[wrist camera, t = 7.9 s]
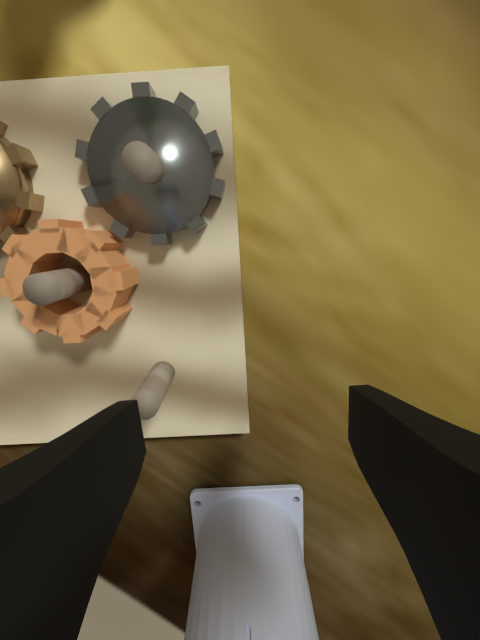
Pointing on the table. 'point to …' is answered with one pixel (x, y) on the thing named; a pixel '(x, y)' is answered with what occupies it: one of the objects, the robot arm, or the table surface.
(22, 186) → the gear
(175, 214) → the gear
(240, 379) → the gear board
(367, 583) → the table surface
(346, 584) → the table surface
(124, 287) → the idler gear
